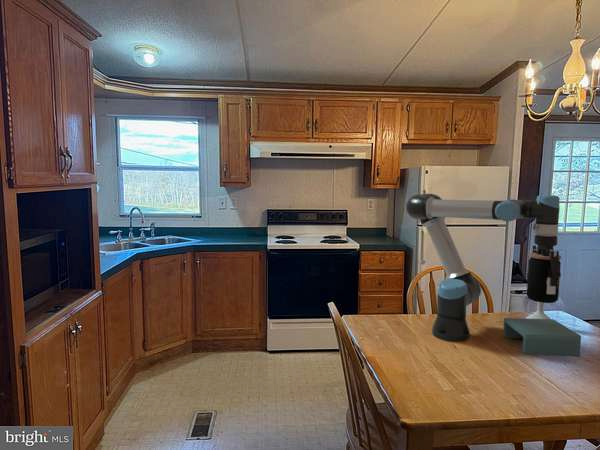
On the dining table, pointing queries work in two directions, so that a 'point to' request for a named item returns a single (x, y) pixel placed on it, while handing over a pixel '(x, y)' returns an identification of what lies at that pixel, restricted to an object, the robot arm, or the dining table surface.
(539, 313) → the flower in vase
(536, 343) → the green riser stand
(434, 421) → the dining table surface
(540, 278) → the coffee jar
